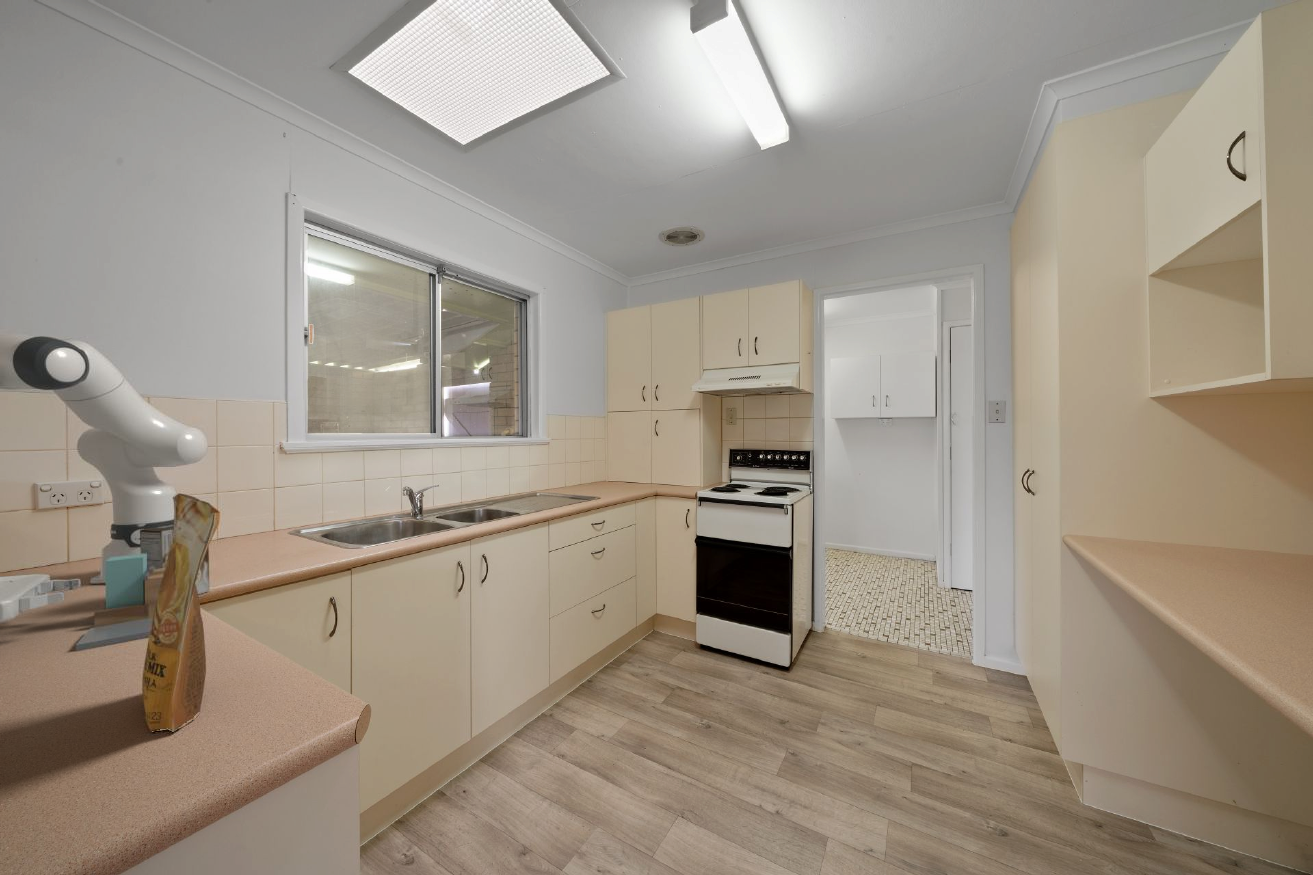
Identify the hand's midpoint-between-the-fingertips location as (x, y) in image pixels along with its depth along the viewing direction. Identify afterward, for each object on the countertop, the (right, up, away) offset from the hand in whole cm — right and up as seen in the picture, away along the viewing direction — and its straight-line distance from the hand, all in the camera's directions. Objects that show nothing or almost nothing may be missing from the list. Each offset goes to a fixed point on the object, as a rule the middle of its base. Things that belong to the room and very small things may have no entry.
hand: (72, 589), depth 91 cm
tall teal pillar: (+6, -7, +5) cm, 10 cm away
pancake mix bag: (+47, -7, -26) cm, 54 cm away
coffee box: (+4, -7, +16) cm, 18 cm away
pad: (+14, -7, -4) cm, 16 cm away
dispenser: (+7, -7, +6) cm, 12 cm away
